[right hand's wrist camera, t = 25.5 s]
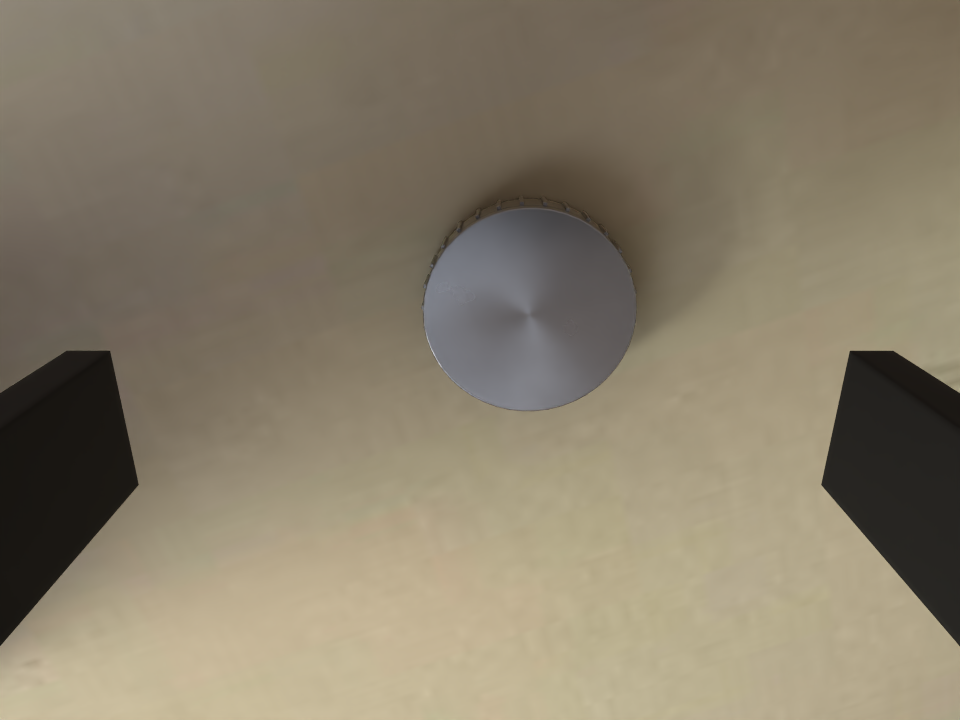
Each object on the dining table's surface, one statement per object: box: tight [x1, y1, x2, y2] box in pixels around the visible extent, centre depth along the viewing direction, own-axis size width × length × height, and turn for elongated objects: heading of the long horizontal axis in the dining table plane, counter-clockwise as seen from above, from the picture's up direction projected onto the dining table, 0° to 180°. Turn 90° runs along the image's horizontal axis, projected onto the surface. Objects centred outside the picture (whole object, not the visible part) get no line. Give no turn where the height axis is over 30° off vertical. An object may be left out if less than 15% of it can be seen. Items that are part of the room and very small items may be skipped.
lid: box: [422, 196, 637, 411], centre depth 19 cm, size 6×6×2 cm
